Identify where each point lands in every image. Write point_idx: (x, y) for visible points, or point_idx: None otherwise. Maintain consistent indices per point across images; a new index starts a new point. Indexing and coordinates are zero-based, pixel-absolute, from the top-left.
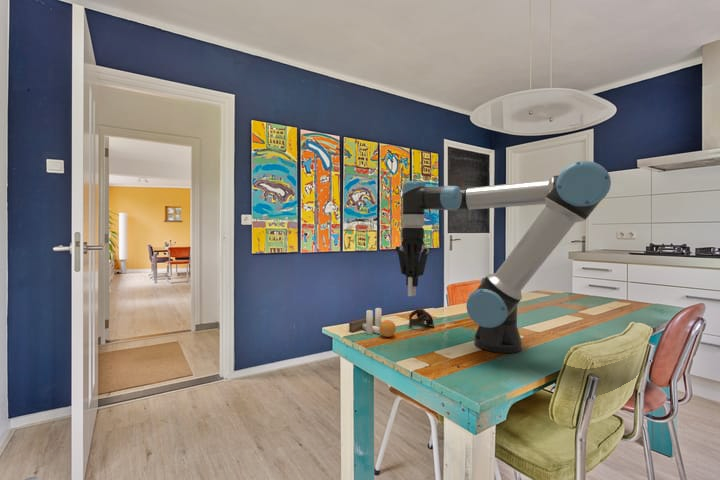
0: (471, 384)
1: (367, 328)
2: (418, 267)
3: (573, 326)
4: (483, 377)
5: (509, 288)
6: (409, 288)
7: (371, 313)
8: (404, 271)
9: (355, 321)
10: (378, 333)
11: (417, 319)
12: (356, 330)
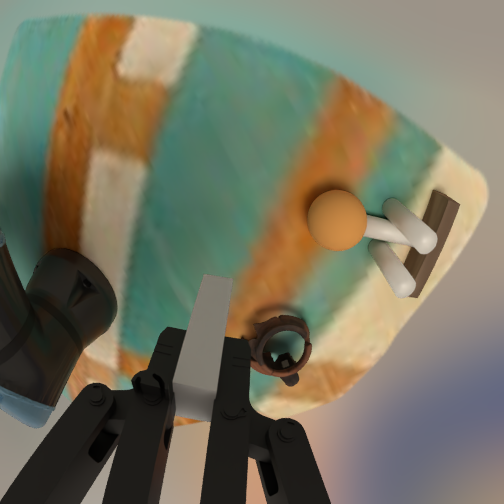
0: (31, 61)
1: (402, 205)
2: (69, 452)
3: None
4: (24, 105)
5: None
6: (212, 311)
7: (415, 233)
8: (268, 445)
9: (447, 223)
10: None
11: (273, 328)
12: (429, 205)
